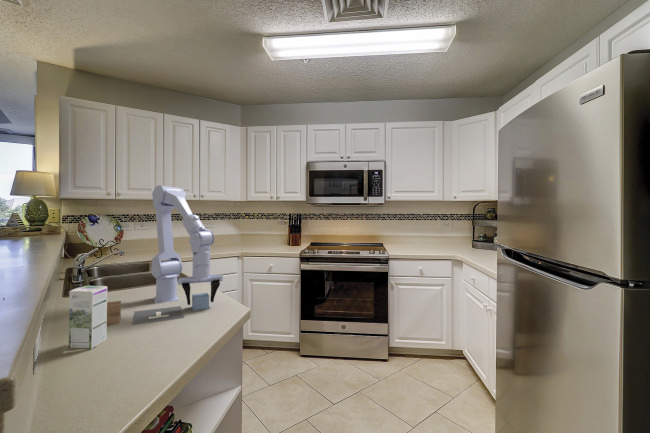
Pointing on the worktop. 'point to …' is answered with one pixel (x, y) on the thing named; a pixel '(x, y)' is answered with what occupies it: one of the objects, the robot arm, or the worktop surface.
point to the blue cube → (200, 301)
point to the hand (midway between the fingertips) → (200, 302)
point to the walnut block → (113, 312)
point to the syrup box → (87, 316)
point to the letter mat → (157, 315)
